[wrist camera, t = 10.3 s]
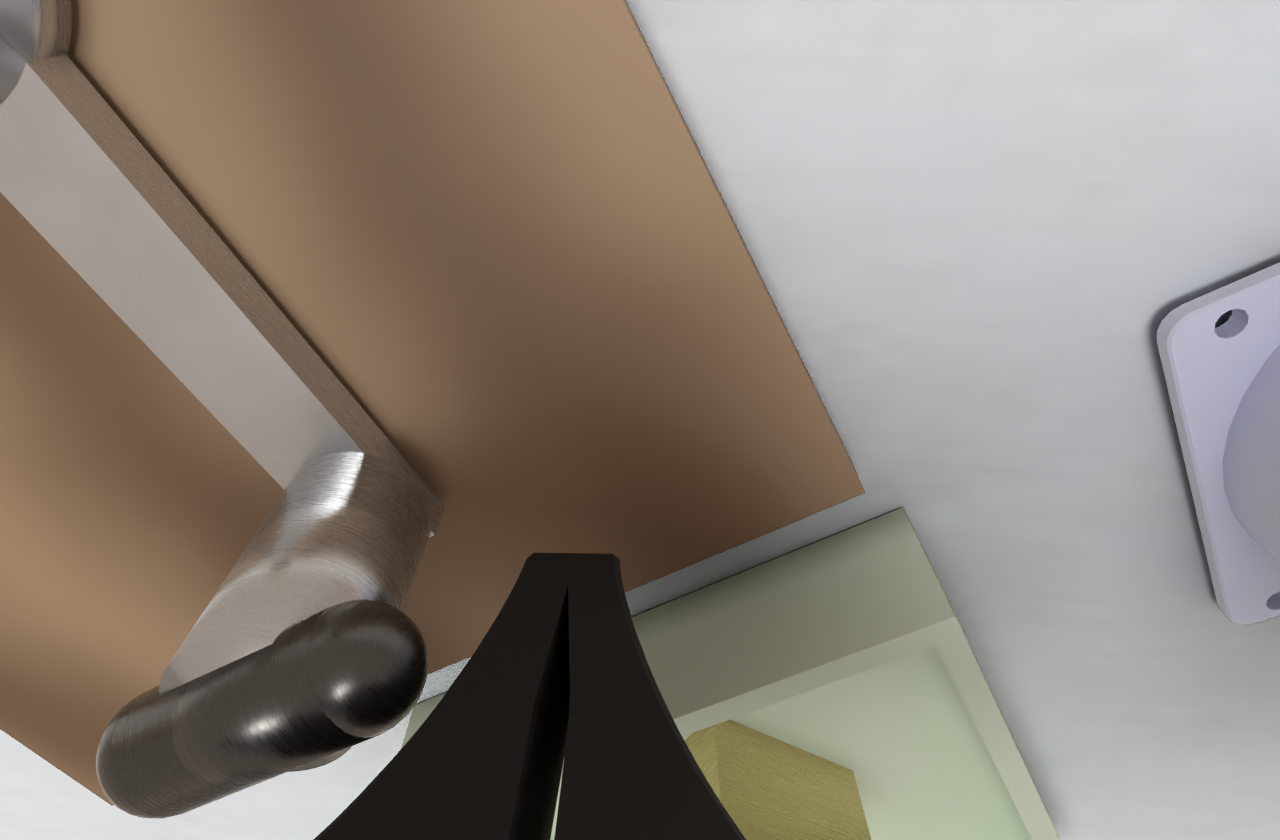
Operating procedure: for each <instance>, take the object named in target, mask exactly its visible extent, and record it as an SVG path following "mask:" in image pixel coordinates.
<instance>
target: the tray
mask: <svg viewBox="0 0 1280 840" xmlns="http://www.w3.org/2000/svg"><path fill="white" fill-rule="evenodd" d="M631 618H632V621H633V624H634V627H635V630H636V633H637V636H638V639H639V641H640V644H641V646H642V649H643V652H644V654H645V657H646V660H647V662H648V665H649V667H650V670H651V672H652V674H653V677H654V679H655V682H656V684H657V686H658V688H659V690H660V692H661V695H662V697H663V699H664V701H665V703H666V705H667V708H668V710H669V712H670V714H671V716H672V718H673V720H674V722H675V724H676V726H677V728H678V730H679V732H680V733H681V735H682V737H683V739H684V741H685V740H686V739H687V738H688V737H689V736H690V734H691V733H693V732H696V731H699V730H702V729H705V728H707V727H710V726H713V725H716V724H719V723H721V722H724V721H727V720H732V721H735V722H737V723H740V724H742V725H744V726H747V727H749V728H752V729H754V730H756V731H759V732H761V733H764V734H766V735H768V736H771V737H773V738H776V739H778V740H780V741H783V742H785V743H788V744H790V745H793V746H795V747H797V748H800V749H802V750H805V751H807V752H809V753H812V754H814V755H817V756H819V757H821V758H824V759H826V760H829V761H831V762H833V763H836V764H838V765H841V766H843V767H845V768H848V769H850V770H853V772H854V776H855V780H856V783H857V787H858V791H859V795H860V798H861V802H862V806H863V810H864V813H865V817H866V821H867V825H868V828H869V832H870V836H871V840H1060V839H1059V837H1058V835H1057V832H1056V830H1055V828H1054V826H1053V824H1052V822H1051V819H1050V817H1049V815H1048V813H1047V811H1046V809H1045V807H1044V804H1043V802H1042V800H1041V798H1040V796H1039V794H1038V792H1037V789H1036V787H1035V785H1034V783H1033V781H1032V779H1031V777H1030V774H1029V772H1028V770H1027V768H1026V766H1025V764H1024V761H1023V759H1022V757H1021V755H1020V753H1019V751H1018V749H1017V746H1016V744H1015V742H1014V740H1013V738H1012V736H1011V734H1010V731H1009V729H1008V727H1007V725H1006V723H1005V721H1004V719H1003V716H1002V714H1001V712H1000V710H999V708H998V706H997V704H996V701H995V699H994V697H993V695H992V693H991V691H990V688H989V686H988V684H987V682H986V680H985V678H984V676H983V673H982V671H981V669H980V667H979V665H978V663H977V661H976V658H975V656H974V654H973V652H972V650H971V648H970V646H969V643H968V641H967V639H966V637H965V635H964V633H963V630H962V628H961V626H960V624H959V622H958V620H957V618H956V615H955V613H954V611H953V609H952V607H951V605H950V603H949V601H948V599H947V597H946V595H945V593H944V591H943V589H942V587H941V585H940V583H939V581H938V579H937V576H936V574H935V572H934V570H933V568H932V566H931V564H930V562H929V560H928V558H927V556H926V554H925V552H924V550H923V548H922V546H921V544H920V542H919V539H918V537H917V535H916V533H915V531H914V529H913V527H912V525H911V523H910V521H909V519H908V517H907V515H906V513H905V511H904V509H903V507H902V508H899V509H897V510H894V511H892V512H890V513H887V514H885V515H882V516H880V517H877V518H875V519H872V520H870V521H867V522H865V523H862V524H860V525H857V526H855V527H853V528H850V529H848V530H845V531H843V532H840V533H838V534H835V535H833V536H830V537H828V538H825V539H823V540H821V541H818V542H816V543H813V544H811V545H808V546H806V547H803V548H801V549H798V550H796V551H793V552H791V553H788V554H786V555H784V556H781V557H779V558H776V559H774V560H771V561H769V562H766V563H764V564H761V565H759V566H756V567H754V568H752V569H749V570H747V571H744V572H742V573H739V574H737V575H734V576H732V577H729V578H727V579H724V580H722V581H719V582H717V583H715V584H712V585H710V586H707V587H705V588H702V589H700V590H697V591H695V592H692V593H690V594H687V595H685V596H683V597H680V598H678V599H675V600H673V601H670V602H668V603H665V604H663V605H660V606H658V607H655V608H653V609H650V610H648V611H646V612H643V613H641V614H638V615H636V616H633V617H631ZM445 694H446V693H444V694H441V695H439V696H436V697H434V698H431V699H429V700H426V701H424V702H421V703H419V704H416V705H414V708H413V711H412V715H411V718H410V722H409V725H408V728H407V732H406V735H405V738H404V742H403V745H402V748H403V747H404V745H405V744H406V743H407V742H408V741H409V739H410V738H411V737H412V736H413V735H414V734H415V732H416V731H417V730H418V729H419V727H420V726H421V725H422V724H423V723H424V721H425V720H426V719H427V718H428V716H429V715H430V714H431V712H432V711H433V710H434V709H435V707H436V706H437V705H438V703H439V702H440V701H441V699H442V698H443V697H444V695H445ZM402 748H401V749H402ZM564 756H565V755H564ZM563 764H564V761H563ZM562 773H563V767H562ZM562 773H561V779H560V785H559V791H558V797H557V803H556V809H555V815H554V821H553V827H552V833H551V839H550V840H554V837H555V830H556V822H557V814H558V806H559V798H560V789H561V781H562Z"/></svg>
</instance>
